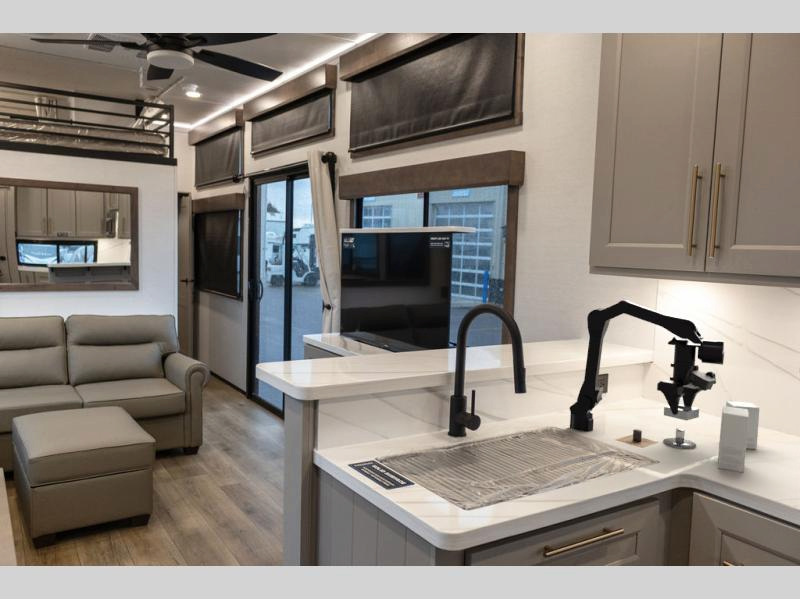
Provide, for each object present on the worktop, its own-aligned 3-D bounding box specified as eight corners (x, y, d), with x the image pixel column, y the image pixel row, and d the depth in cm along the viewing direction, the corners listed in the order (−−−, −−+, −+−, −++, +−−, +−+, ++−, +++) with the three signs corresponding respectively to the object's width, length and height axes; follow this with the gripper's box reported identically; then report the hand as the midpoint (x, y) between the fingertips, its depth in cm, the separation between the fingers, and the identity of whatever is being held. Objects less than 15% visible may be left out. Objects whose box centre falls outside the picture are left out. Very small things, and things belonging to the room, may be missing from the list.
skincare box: (718, 460, 178) (721, 405, 177) (744, 464, 175) (748, 408, 174) (717, 468, 170) (721, 412, 169) (745, 473, 167) (749, 415, 166)
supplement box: (757, 449, 189) (760, 407, 188) (730, 447, 190) (733, 405, 189) (749, 442, 196) (751, 402, 195) (723, 440, 197) (725, 400, 196)
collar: (663, 415, 188) (664, 406, 188) (676, 412, 193) (676, 403, 192) (686, 420, 183) (687, 411, 183) (698, 417, 187) (699, 408, 187)
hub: (657, 446, 189) (658, 428, 189) (672, 441, 195) (673, 423, 194) (686, 454, 182) (687, 435, 182) (701, 448, 188) (702, 430, 187)
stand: (614, 442, 191) (615, 429, 191) (631, 438, 197) (632, 424, 197) (642, 450, 184) (642, 436, 184) (658, 445, 190) (659, 431, 189)
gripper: (695, 368, 174) (691, 423, 176) (727, 362, 186) (723, 414, 187) (657, 361, 183) (654, 414, 184) (690, 356, 194) (687, 406, 196)
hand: (681, 412), depth 188 cm, fingers closed on collar, 7 cm apart
